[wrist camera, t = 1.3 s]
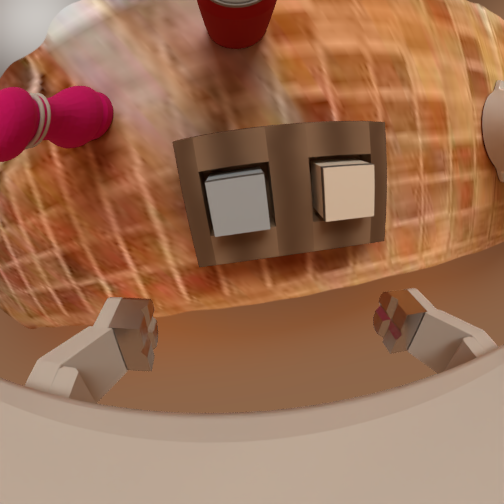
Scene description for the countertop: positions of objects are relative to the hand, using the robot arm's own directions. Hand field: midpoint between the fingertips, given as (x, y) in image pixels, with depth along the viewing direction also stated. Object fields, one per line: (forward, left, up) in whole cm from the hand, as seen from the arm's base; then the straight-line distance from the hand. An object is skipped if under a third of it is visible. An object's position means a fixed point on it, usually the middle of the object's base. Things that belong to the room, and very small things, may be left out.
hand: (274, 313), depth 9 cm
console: (-4, +2, -25) cm, 25 cm away
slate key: (+1, +2, -23) cm, 23 cm away
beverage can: (-1, -18, -25) cm, 31 cm away
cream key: (-10, +2, -23) cm, 25 cm away
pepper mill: (+18, -11, -25) cm, 33 cm away
